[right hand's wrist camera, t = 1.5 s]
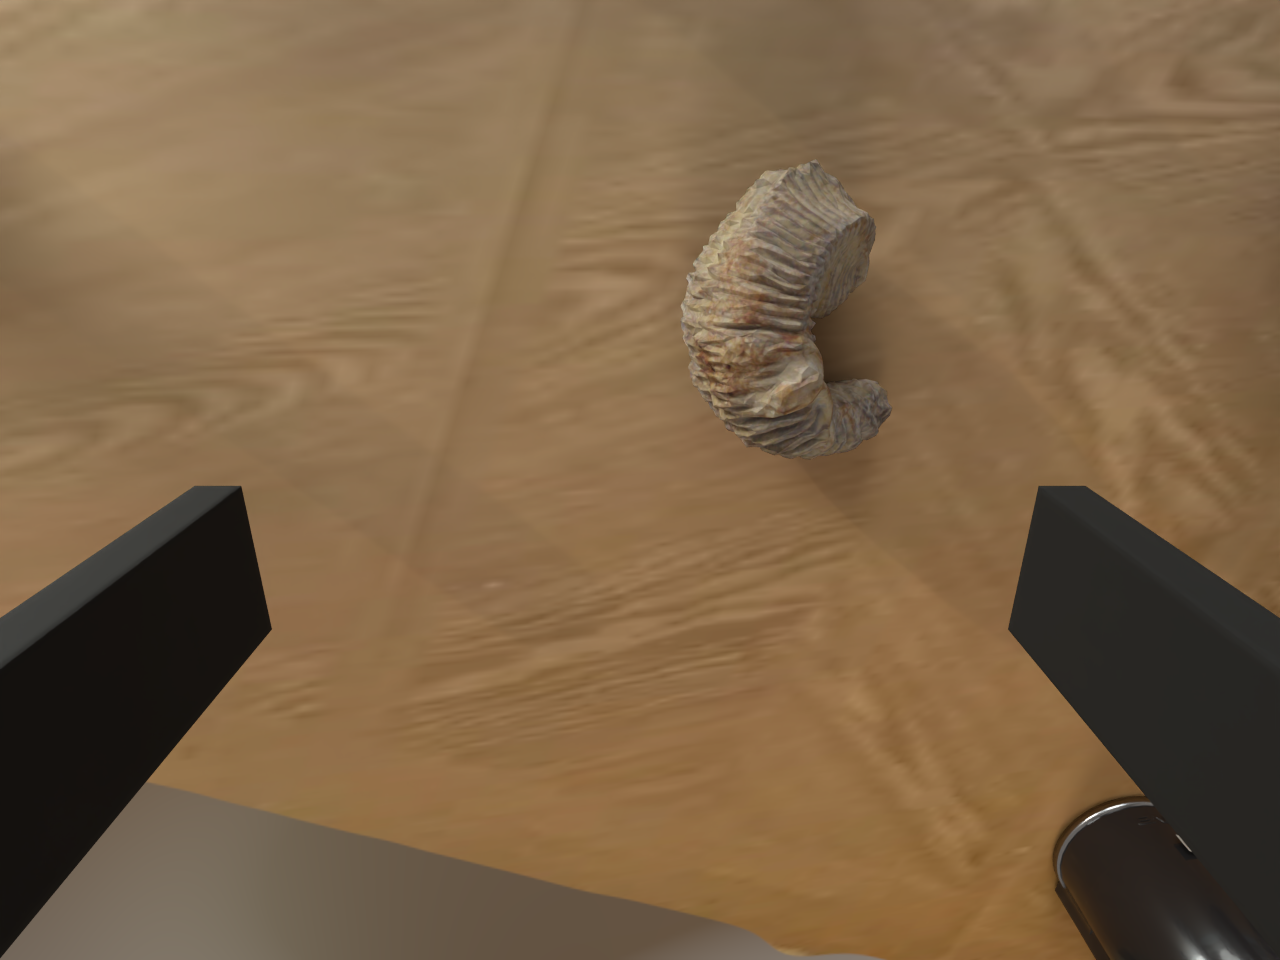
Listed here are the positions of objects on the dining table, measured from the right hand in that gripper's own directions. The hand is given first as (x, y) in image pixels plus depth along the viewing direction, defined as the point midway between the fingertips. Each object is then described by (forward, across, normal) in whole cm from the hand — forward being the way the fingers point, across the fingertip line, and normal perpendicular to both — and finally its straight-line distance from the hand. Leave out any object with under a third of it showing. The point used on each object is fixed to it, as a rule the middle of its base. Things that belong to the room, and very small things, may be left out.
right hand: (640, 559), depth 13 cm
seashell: (+27, +8, 0) cm, 28 cm away
